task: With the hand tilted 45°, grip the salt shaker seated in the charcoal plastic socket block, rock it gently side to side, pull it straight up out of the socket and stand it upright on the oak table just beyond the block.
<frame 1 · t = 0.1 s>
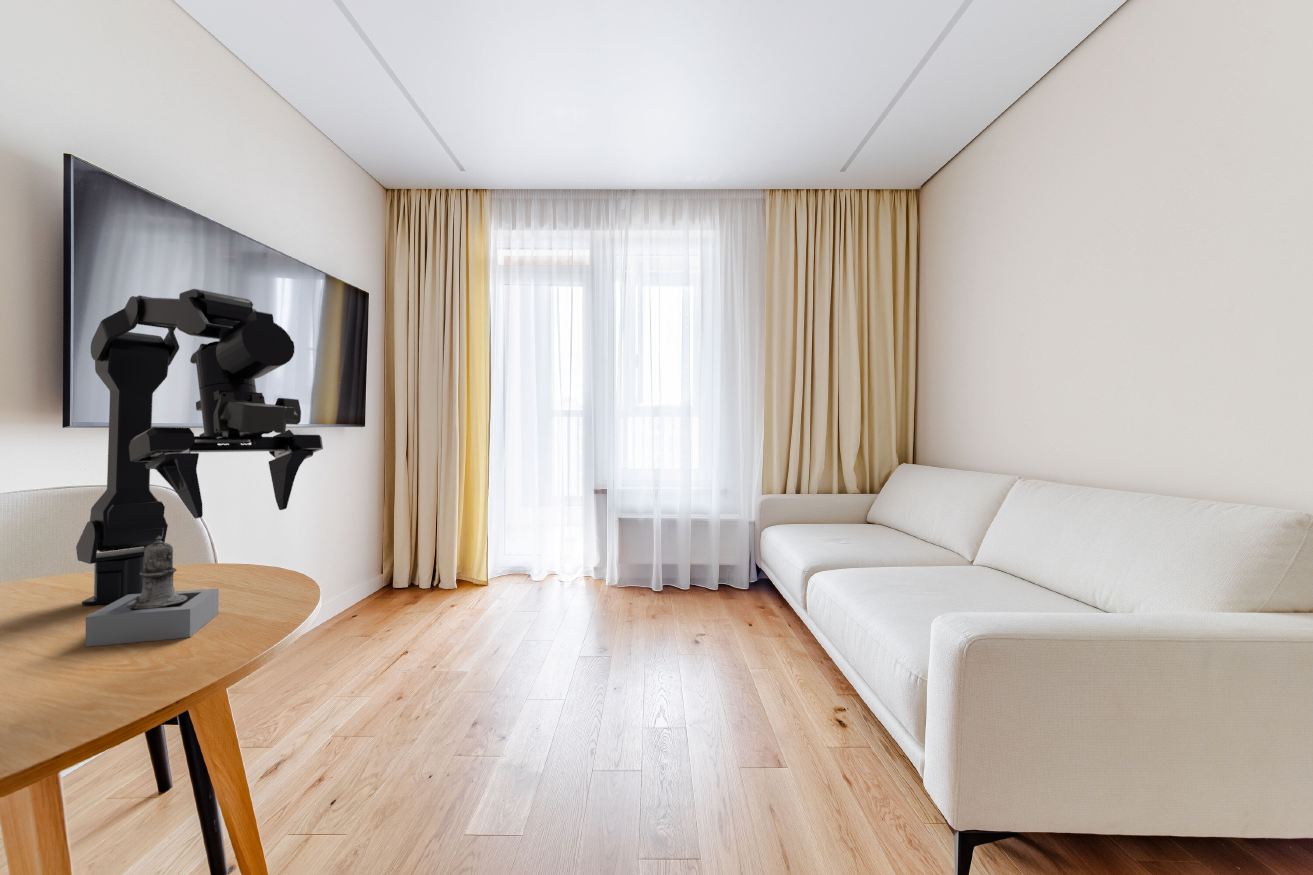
hand: (243, 513, 70), 15 cm above the table, tool pointing down, fingers open, 9 cm apart
salt shaker: (157, 630, 74), resting in socket block
socket block: (157, 628, 74), on the table
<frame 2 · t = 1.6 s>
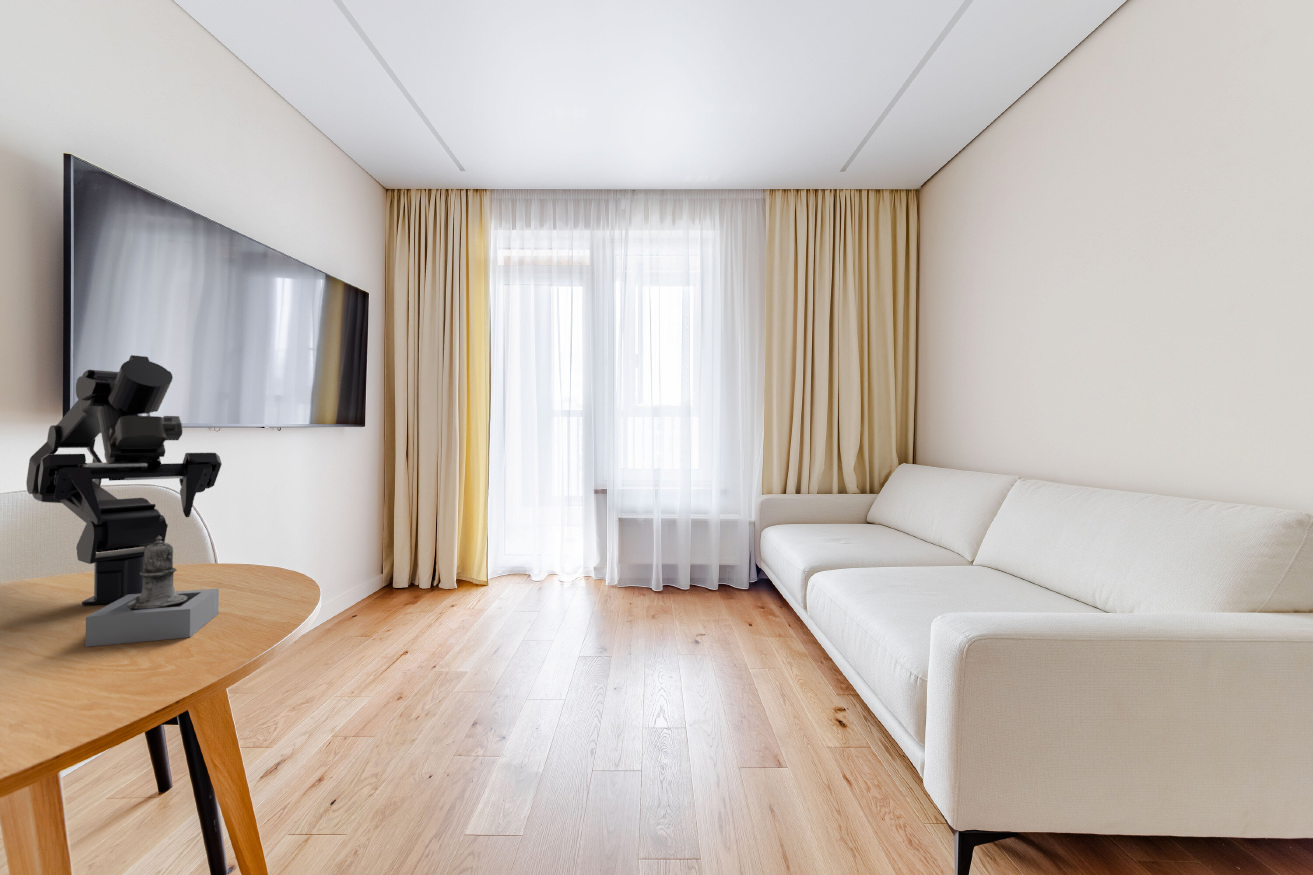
hand: (145, 518, 78), 13 cm above the table, tool tilted 45°, fingers open, 9 cm apart
nothing on the table moved.
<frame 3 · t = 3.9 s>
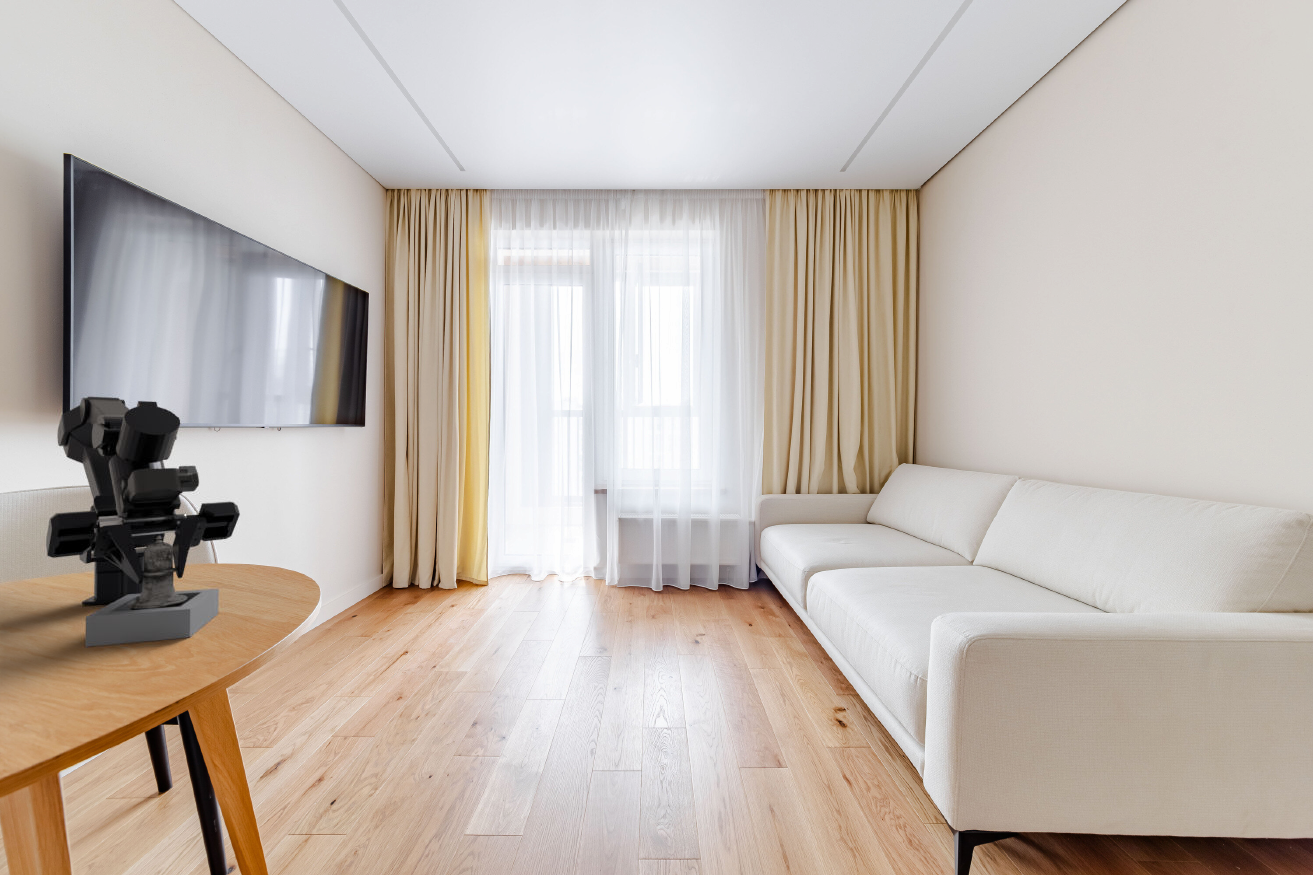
hand: (161, 578, 73), 7 cm above the table, tool tilted 45°, fingers closed on salt shaker, 4 cm apart
salt shaker: (157, 630, 74), resting in socket block, touching gripper
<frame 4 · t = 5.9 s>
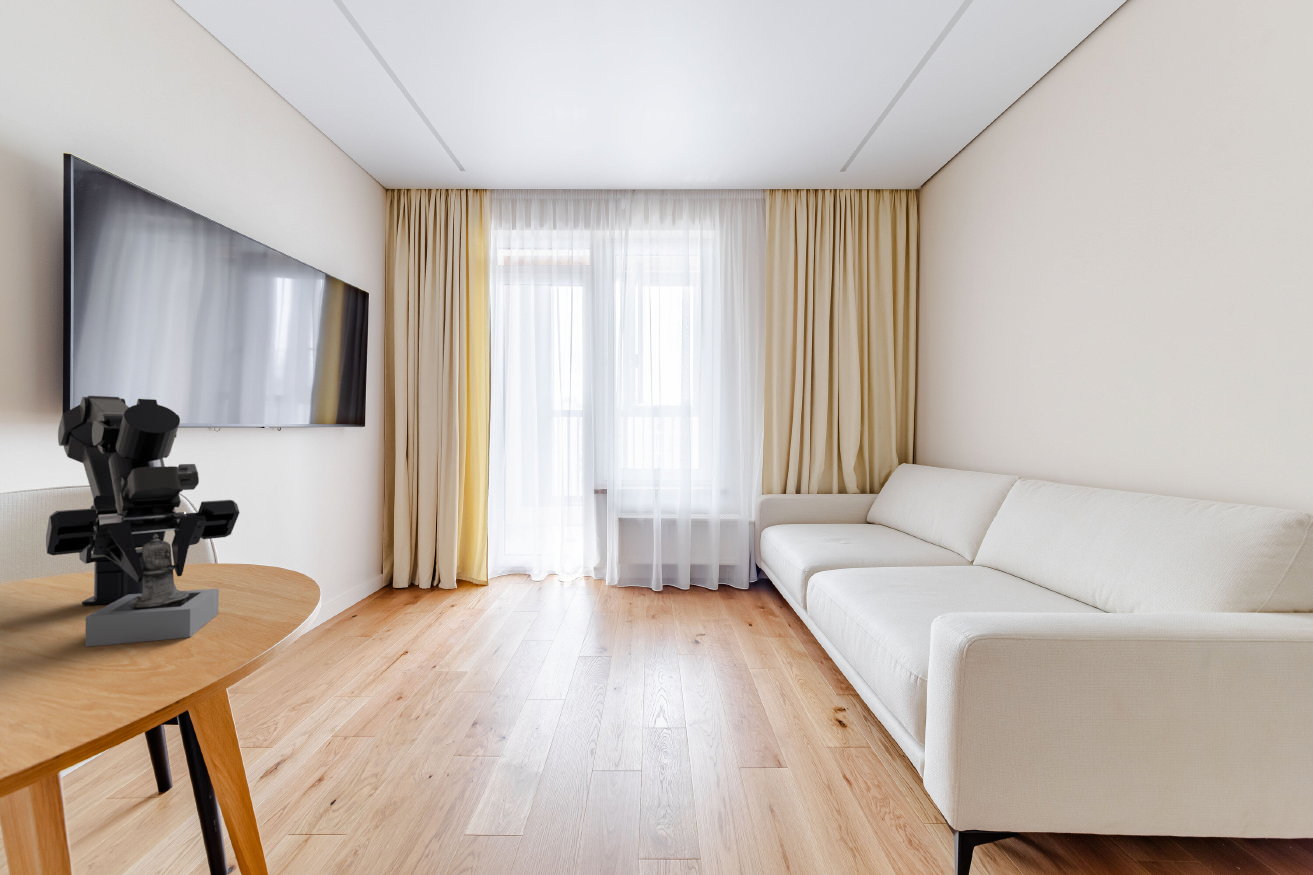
hand: (160, 577, 73), 7 cm above the table, tool tilted 45°, fingers closed on salt shaker, 4 cm apart
salt shaker: (161, 627, 74), resting in socket block, touching gripper
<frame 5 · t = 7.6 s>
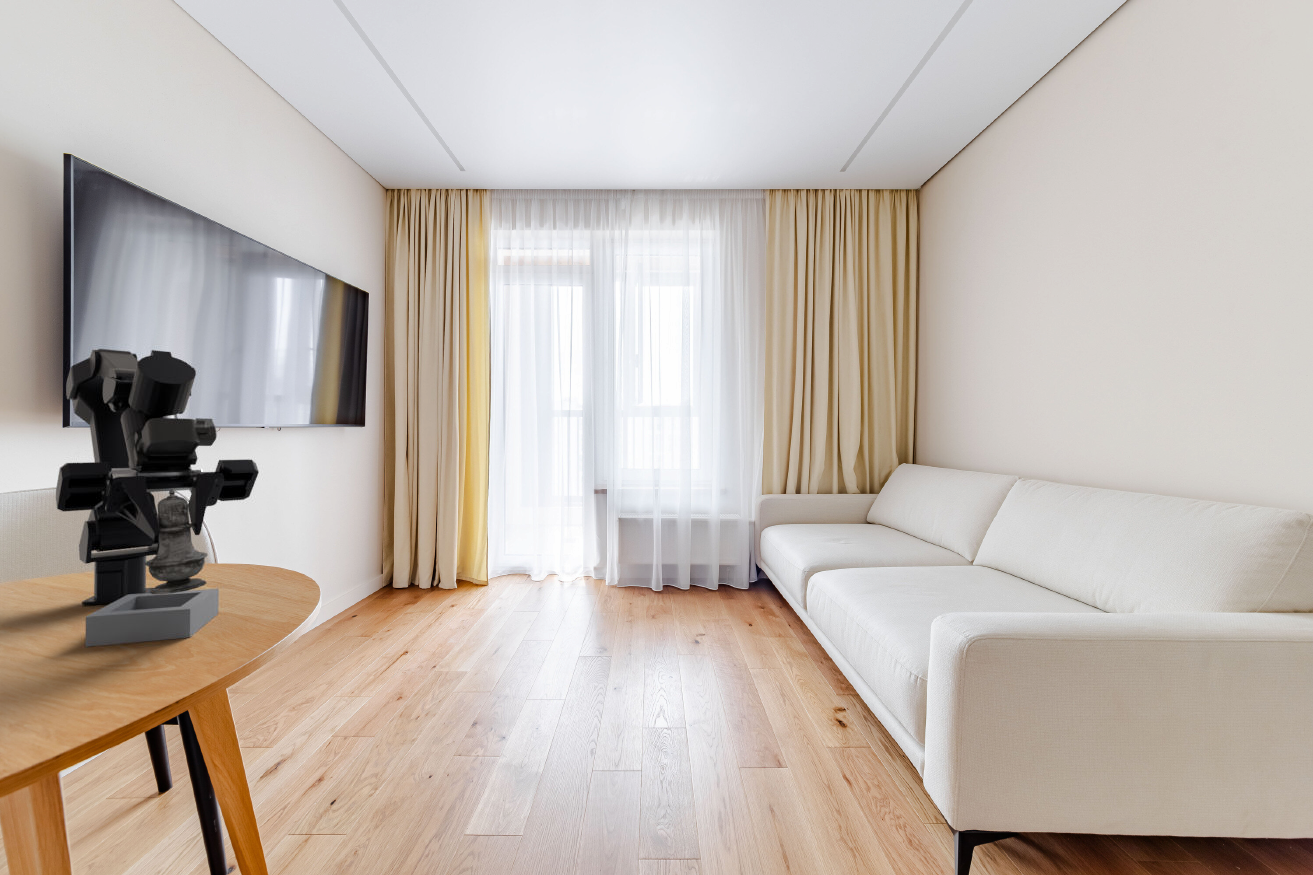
hand: (177, 534, 69), 13 cm above the table, tool tilted 45°, fingers closed on salt shaker, 4 cm apart
salt shaker: (179, 589, 70), point 6 cm above the table, touching gripper
when the fingers open (7 cm above the table, at t = 9.8 s): salt shaker stays where it is, on the table.
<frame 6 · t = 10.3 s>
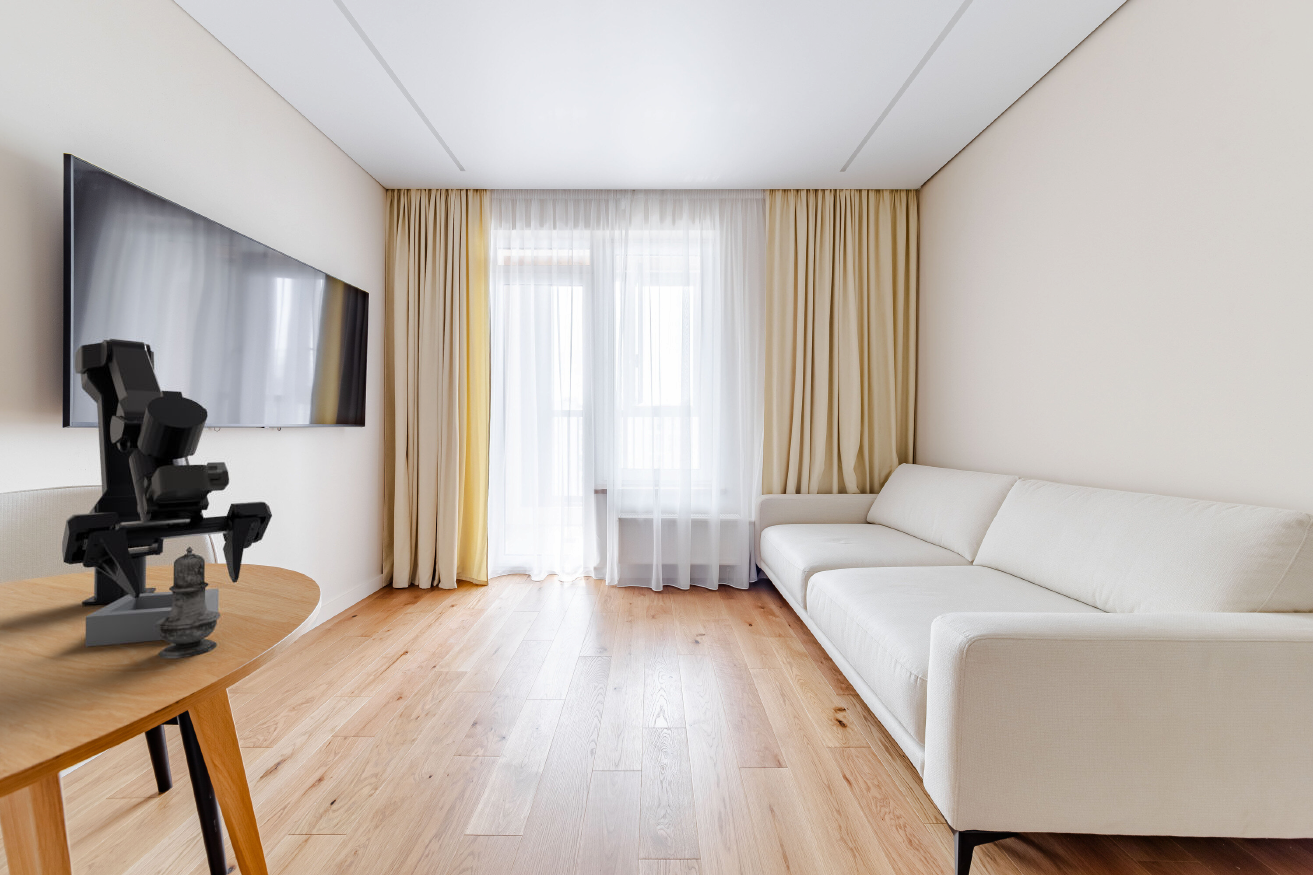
hand: (189, 587, 66), 8 cm above the table, tool tilted 45°, fingers open, 9 cm apart
salt shaker: (188, 651, 67), on the table
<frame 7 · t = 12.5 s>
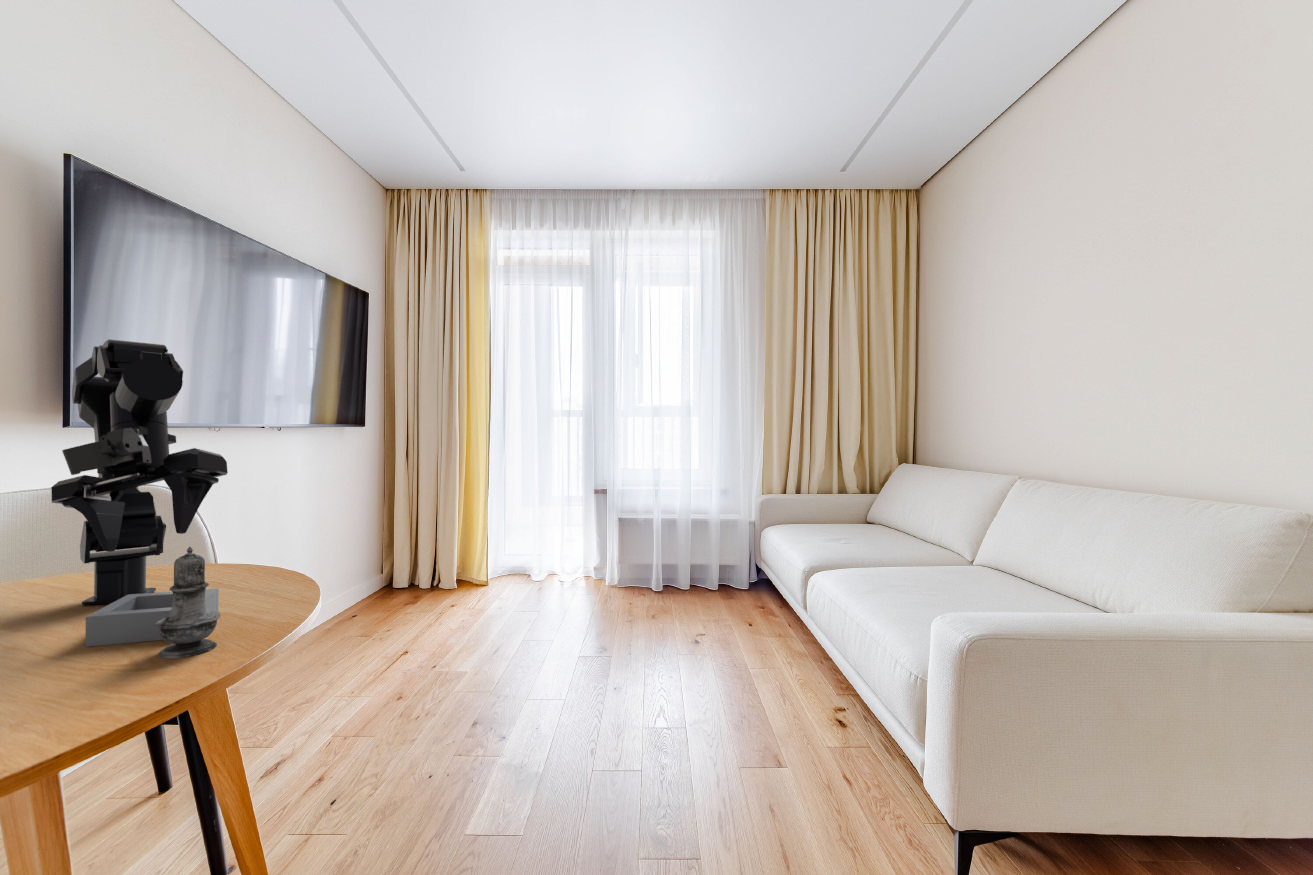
hand: (145, 542, 74), 11 cm above the table, tool tilted 20°, fingers open, 9 cm apart
nothing on the table moved.
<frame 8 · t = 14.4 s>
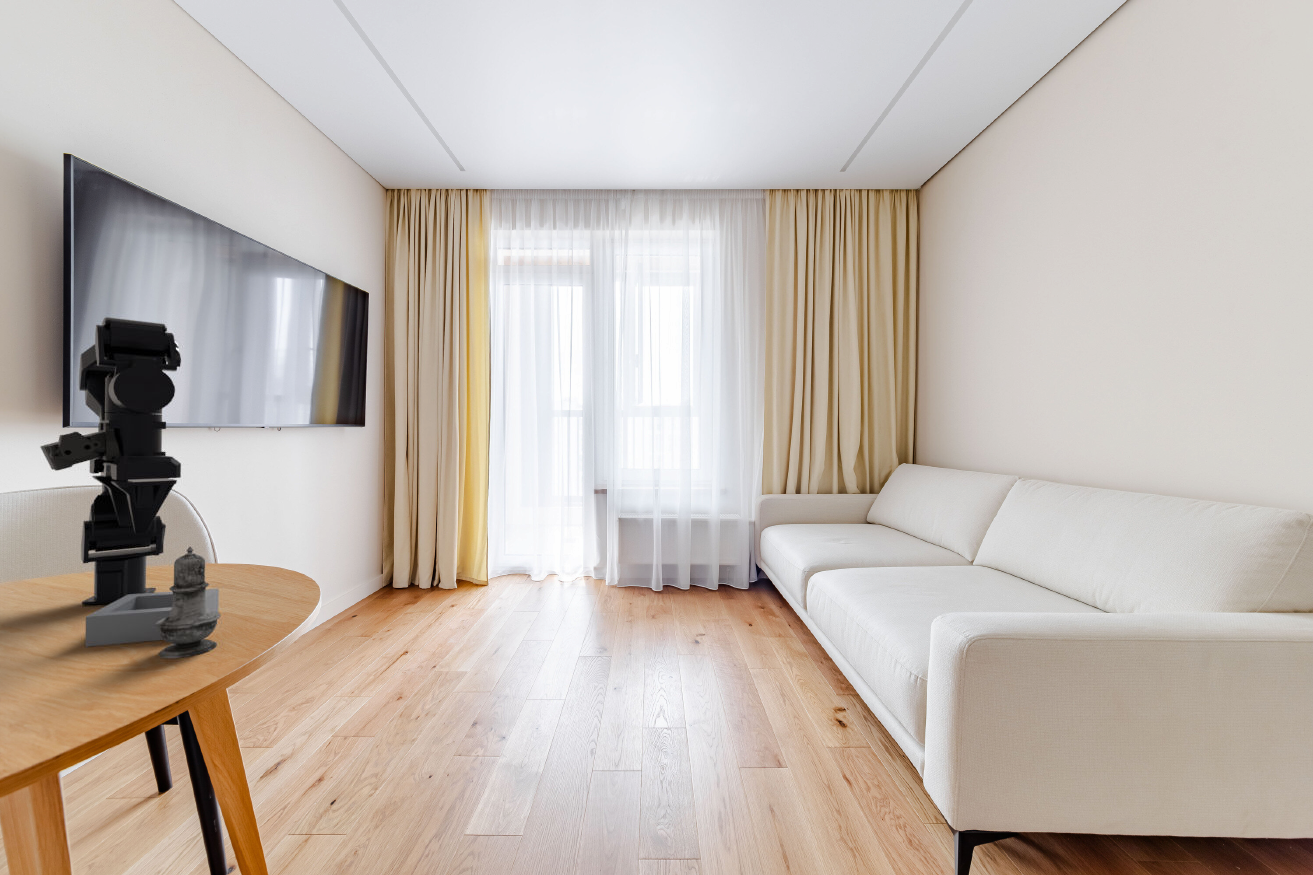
hand: (132, 529, 78), 12 cm above the table, tool pointing down, fingers open, 9 cm apart
nothing on the table moved.
at the end: salt shaker inside the target area (0.8 cm from its centre), on the table; salt shaker tilted 0°; the gripper is holding nothing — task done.
